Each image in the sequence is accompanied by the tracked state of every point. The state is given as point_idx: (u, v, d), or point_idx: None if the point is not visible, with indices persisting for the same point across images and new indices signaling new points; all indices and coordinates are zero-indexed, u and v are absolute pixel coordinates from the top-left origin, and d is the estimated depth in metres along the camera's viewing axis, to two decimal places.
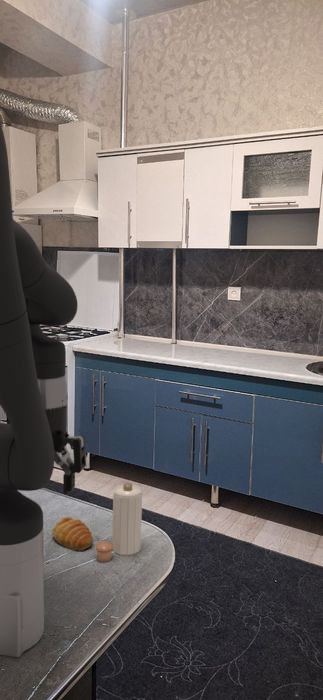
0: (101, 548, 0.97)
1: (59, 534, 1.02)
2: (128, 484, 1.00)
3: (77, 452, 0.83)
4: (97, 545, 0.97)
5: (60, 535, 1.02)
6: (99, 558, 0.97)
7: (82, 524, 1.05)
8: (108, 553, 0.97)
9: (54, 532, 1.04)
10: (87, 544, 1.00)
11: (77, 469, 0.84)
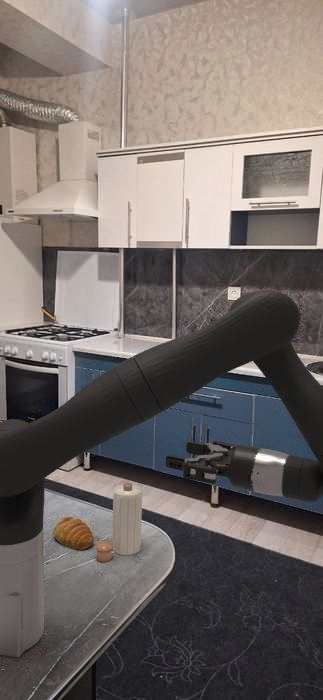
0: (101, 548, 0.97)
1: (60, 534, 1.03)
2: (128, 484, 1.00)
3: (203, 467, 0.84)
4: (97, 545, 0.97)
5: (62, 534, 1.02)
6: (99, 558, 0.97)
7: (83, 523, 1.05)
8: (108, 553, 0.97)
9: (55, 531, 1.04)
10: (89, 543, 1.01)
11: (186, 463, 0.85)
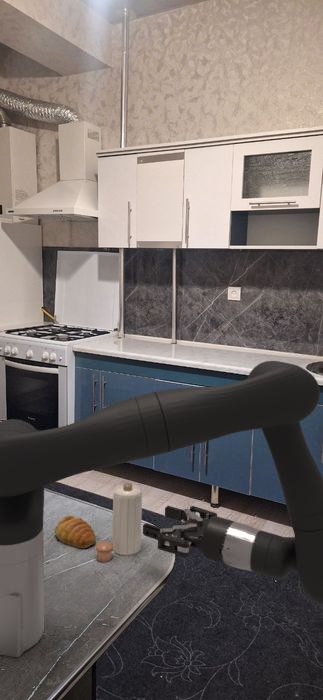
0: (101, 548, 0.97)
1: (62, 533, 1.03)
2: (128, 484, 1.00)
3: (176, 540, 0.88)
4: (97, 545, 0.97)
5: (63, 533, 1.03)
6: (99, 558, 0.97)
7: (84, 522, 1.06)
8: (108, 553, 0.97)
9: (56, 531, 1.04)
10: (91, 542, 1.01)
11: (161, 534, 0.89)
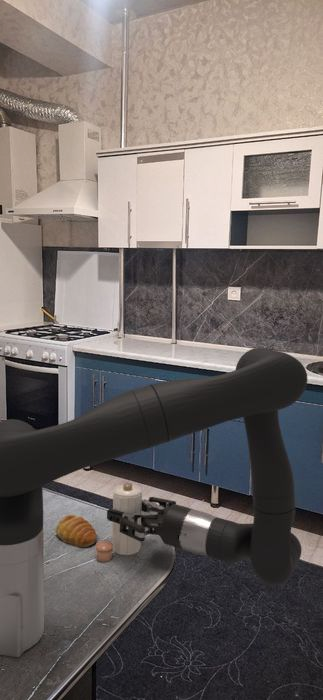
0: (101, 548, 0.97)
1: (63, 532, 1.03)
2: (128, 484, 1.00)
3: (134, 525, 0.93)
4: (97, 545, 0.97)
5: (65, 533, 1.03)
6: (99, 558, 0.97)
7: (85, 521, 1.06)
8: (108, 553, 0.97)
9: (58, 530, 1.05)
10: (92, 540, 1.02)
11: (123, 518, 0.94)
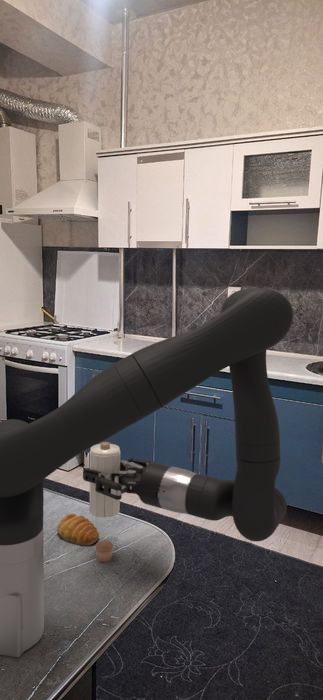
0: (101, 548, 0.97)
1: (65, 531, 1.04)
2: (105, 443, 0.95)
3: (110, 482, 0.87)
4: (97, 545, 0.97)
5: (66, 531, 1.04)
6: (99, 558, 0.97)
7: (86, 520, 1.07)
8: (108, 553, 0.97)
9: (59, 529, 1.05)
10: (94, 539, 1.02)
11: (98, 477, 0.89)
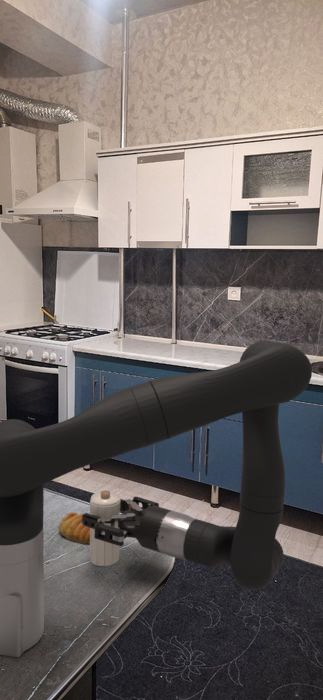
0: None
1: (67, 530, 1.04)
2: (106, 492, 0.96)
3: (111, 529, 0.88)
4: None
5: (69, 530, 1.04)
6: None
7: None
8: None
9: (61, 528, 1.06)
10: None
11: (97, 524, 0.89)
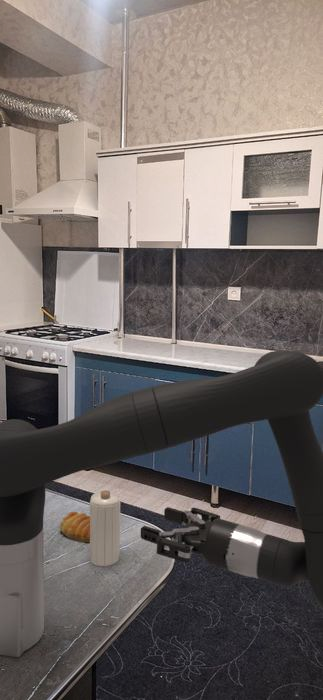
0: None
1: (68, 529, 1.05)
2: (106, 492, 0.96)
3: (176, 544, 0.81)
4: None
5: (70, 529, 1.05)
6: None
7: (89, 517, 1.08)
8: None
9: (62, 527, 1.06)
10: None
11: (160, 538, 0.83)
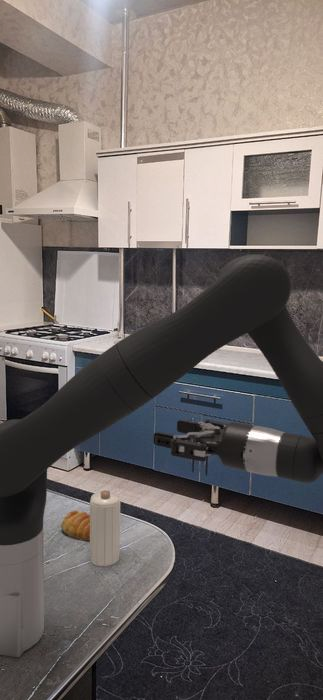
0: None
1: (70, 527, 1.05)
2: (106, 492, 0.96)
3: (192, 443, 0.79)
4: None
5: (71, 528, 1.05)
6: None
7: None
8: None
9: (63, 526, 1.06)
10: None
11: (175, 439, 0.80)
